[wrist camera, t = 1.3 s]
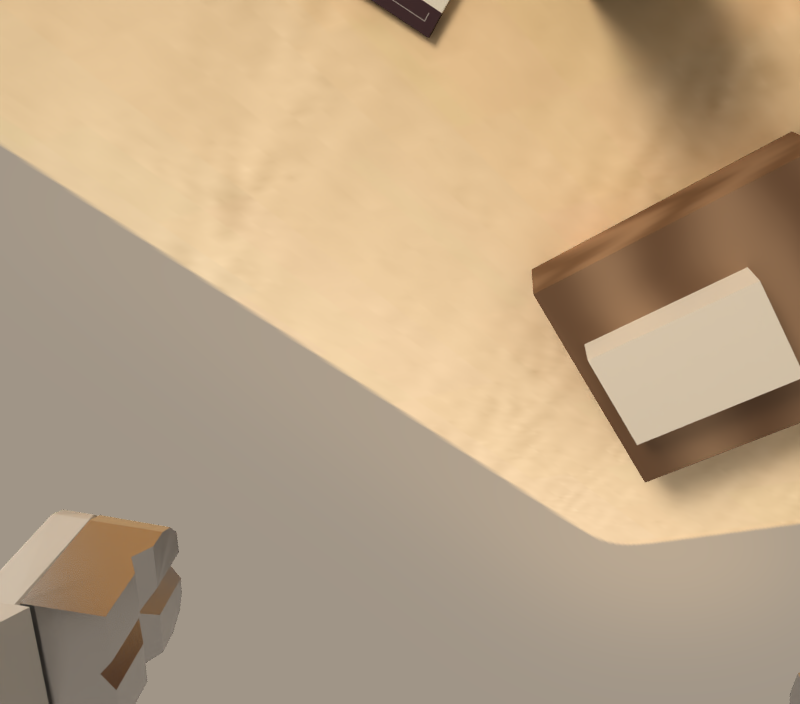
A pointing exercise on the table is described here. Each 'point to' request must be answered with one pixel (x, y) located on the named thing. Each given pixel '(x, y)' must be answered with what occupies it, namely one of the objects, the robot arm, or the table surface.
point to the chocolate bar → (416, 12)
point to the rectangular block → (694, 357)
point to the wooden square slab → (688, 288)
